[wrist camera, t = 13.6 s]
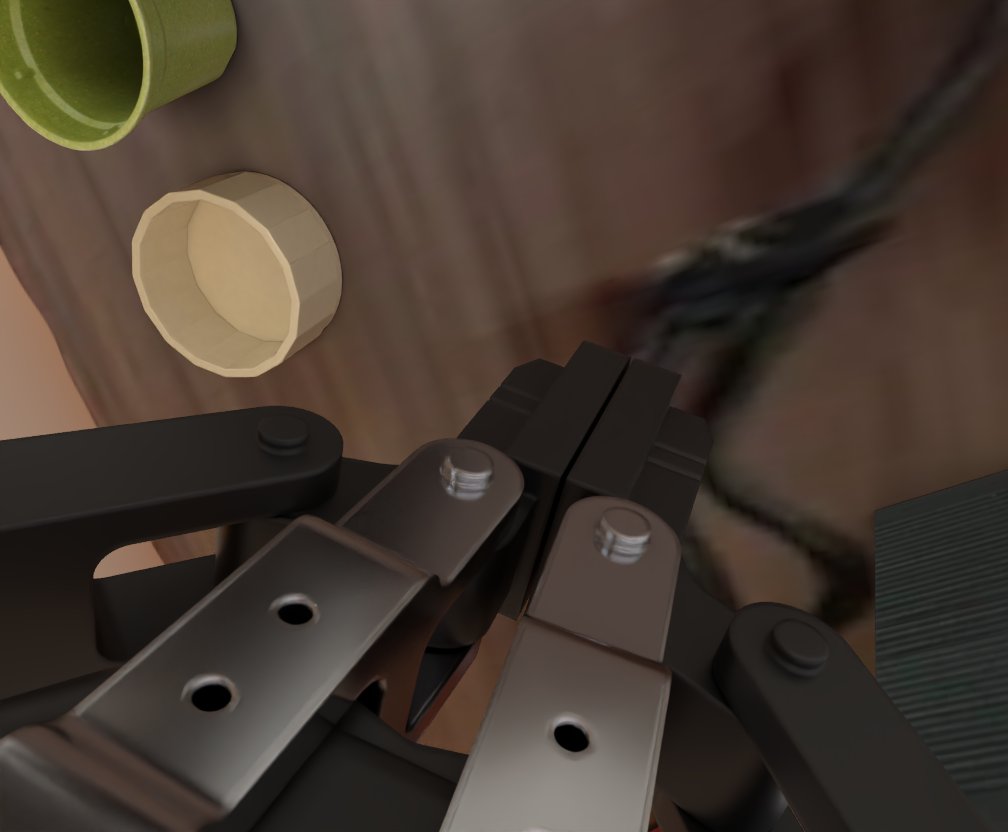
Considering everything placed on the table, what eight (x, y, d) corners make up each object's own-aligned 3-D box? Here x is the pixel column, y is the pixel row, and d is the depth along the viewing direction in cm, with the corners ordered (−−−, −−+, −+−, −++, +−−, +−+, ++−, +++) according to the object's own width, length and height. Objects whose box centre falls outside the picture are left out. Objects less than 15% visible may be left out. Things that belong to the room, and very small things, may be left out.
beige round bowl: (187, 147, 48) (130, 165, 44) (352, 204, 46) (307, 227, 43) (184, 312, 53) (132, 340, 50) (332, 369, 52) (290, 403, 48)
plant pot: (143, 126, 49) (16, 159, 41) (83, -69, 45) (-69, -70, 37) (288, 108, 45) (176, 140, 38) (237, -105, 41) (102, -115, 34)
